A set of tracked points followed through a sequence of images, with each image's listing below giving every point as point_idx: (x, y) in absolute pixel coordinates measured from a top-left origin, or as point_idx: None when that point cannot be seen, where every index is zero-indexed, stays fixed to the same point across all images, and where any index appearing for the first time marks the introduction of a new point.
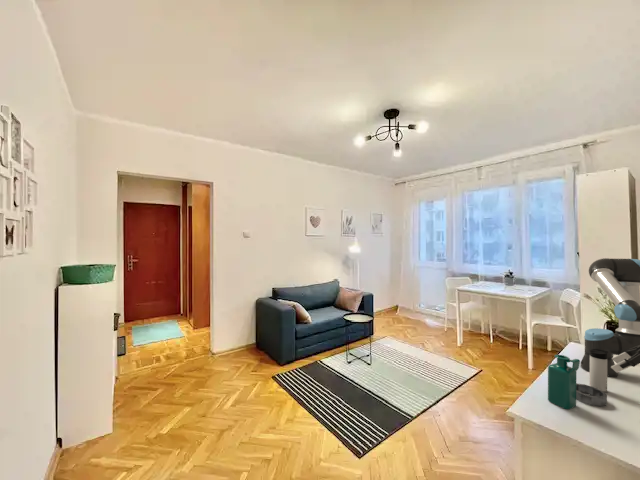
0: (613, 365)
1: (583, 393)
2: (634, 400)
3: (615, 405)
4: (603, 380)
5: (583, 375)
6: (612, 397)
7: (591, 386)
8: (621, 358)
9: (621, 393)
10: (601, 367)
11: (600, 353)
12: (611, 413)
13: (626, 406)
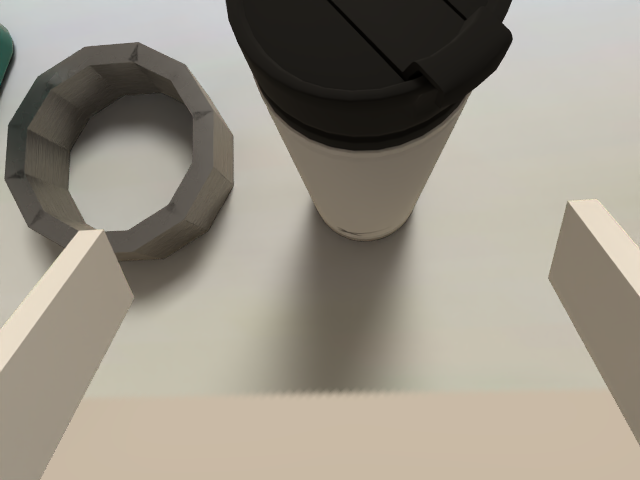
0: (77, 257)
1: (23, 132)
2: (376, 392)
3: (173, 301)
4: (316, 202)
5: (600, 72)
6: (302, 276)
7: (211, 150)
8: (606, 330)
9: (442, 317)
10: (285, 144)
11: (297, 19)
12: (28, 292)
13: (214, 354)
